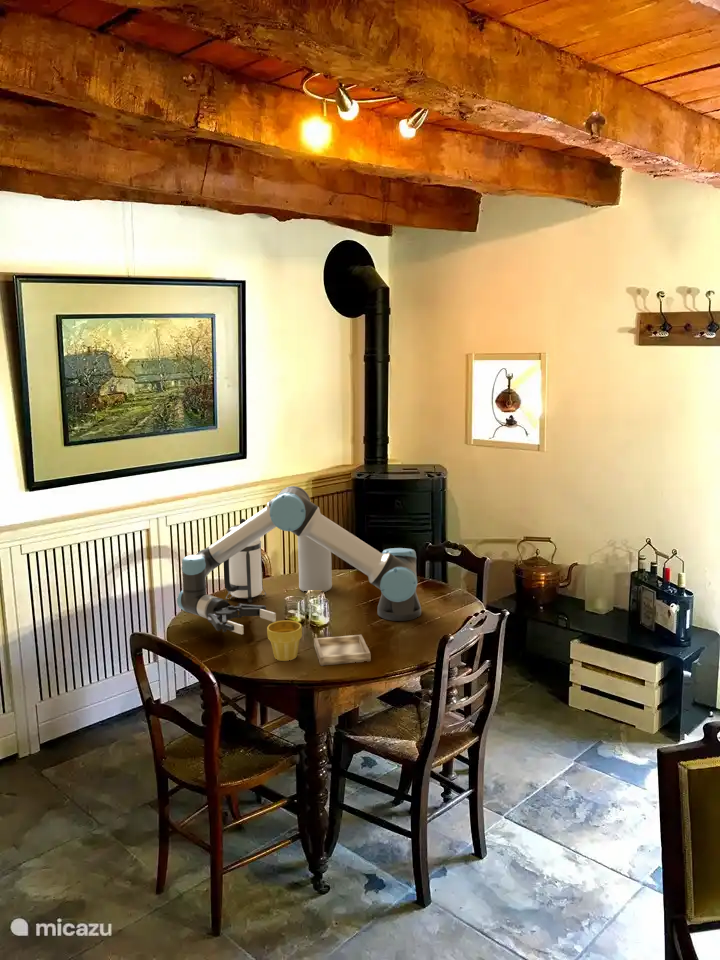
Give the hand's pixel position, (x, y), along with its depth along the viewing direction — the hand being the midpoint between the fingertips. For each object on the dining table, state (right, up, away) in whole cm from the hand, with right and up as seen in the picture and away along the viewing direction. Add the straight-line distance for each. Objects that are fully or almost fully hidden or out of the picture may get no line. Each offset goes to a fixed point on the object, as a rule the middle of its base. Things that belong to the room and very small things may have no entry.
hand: (259, 623), depth 239 cm
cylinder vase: (+14, +2, +59) cm, 60 cm away
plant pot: (+9, -9, -5) cm, 14 cm away
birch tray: (+26, -8, -3) cm, 27 cm away
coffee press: (-11, 0, +48) cm, 50 cm away
